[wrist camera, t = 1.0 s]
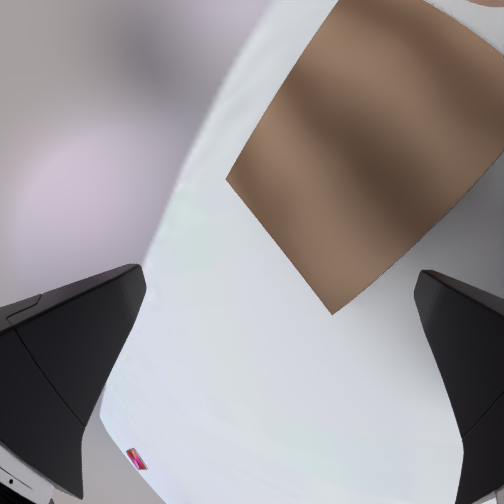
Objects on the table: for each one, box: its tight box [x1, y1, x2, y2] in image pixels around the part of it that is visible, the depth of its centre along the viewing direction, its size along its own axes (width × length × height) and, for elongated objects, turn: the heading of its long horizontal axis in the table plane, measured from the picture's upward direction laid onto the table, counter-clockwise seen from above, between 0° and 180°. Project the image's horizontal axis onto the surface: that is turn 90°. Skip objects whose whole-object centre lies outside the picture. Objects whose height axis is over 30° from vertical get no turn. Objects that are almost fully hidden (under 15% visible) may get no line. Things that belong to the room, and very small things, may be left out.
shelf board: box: [226, 0, 504, 315], centre depth 15 cm, size 16×11×2 cm
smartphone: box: [126, 448, 148, 470], centre depth 75 cm, size 7×1×15 cm
